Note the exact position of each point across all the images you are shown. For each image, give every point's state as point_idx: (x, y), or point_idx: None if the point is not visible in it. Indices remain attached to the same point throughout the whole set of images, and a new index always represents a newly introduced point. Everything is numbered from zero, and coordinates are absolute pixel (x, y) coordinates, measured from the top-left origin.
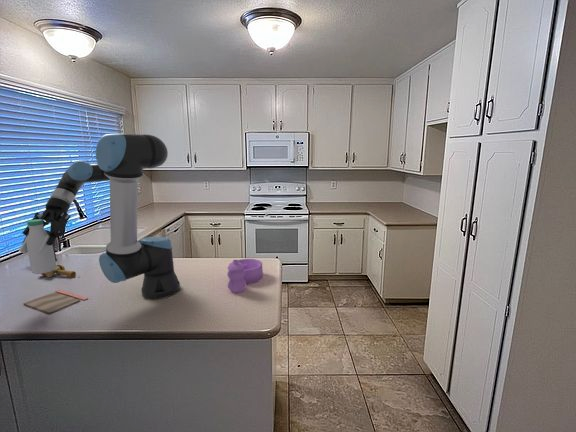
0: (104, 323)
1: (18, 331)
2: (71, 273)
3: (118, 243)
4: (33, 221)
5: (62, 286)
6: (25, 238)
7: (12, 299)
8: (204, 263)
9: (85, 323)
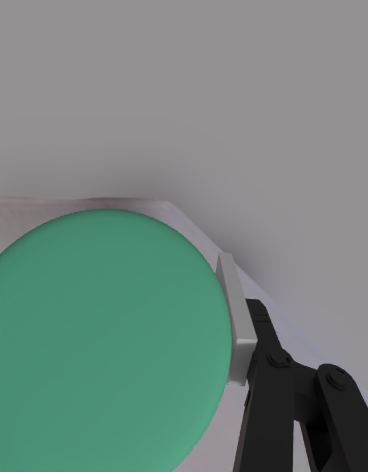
0: None
1: (138, 198)
2: None
3: None
4: (49, 229)
5: (223, 463)
6: (269, 333)
7: (301, 351)
8: None
9: (9, 225)
